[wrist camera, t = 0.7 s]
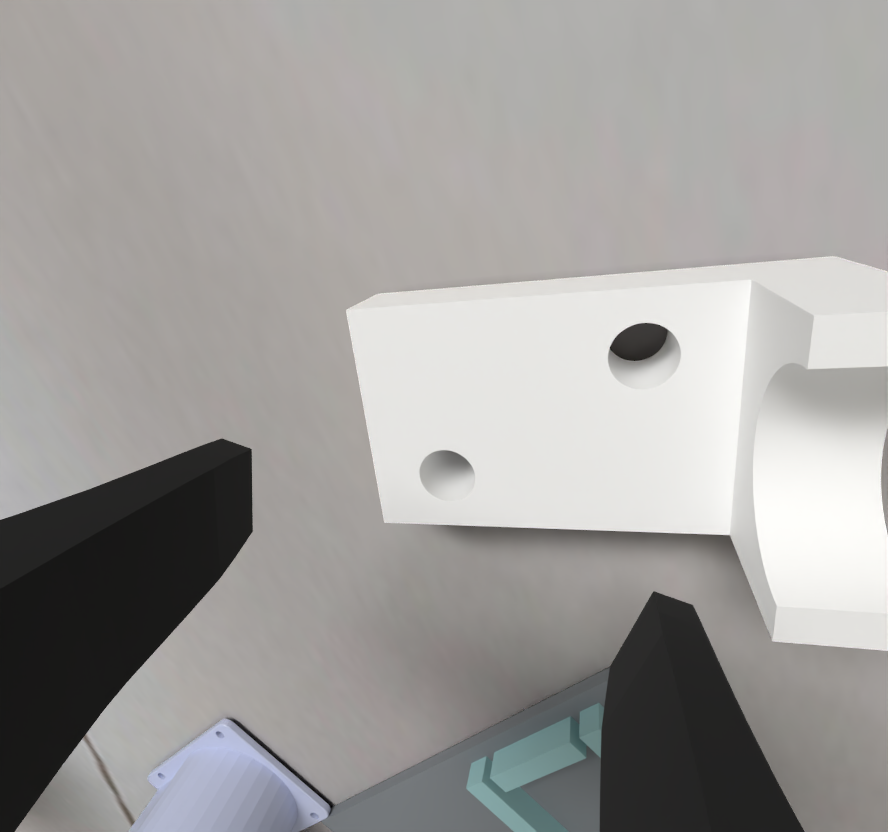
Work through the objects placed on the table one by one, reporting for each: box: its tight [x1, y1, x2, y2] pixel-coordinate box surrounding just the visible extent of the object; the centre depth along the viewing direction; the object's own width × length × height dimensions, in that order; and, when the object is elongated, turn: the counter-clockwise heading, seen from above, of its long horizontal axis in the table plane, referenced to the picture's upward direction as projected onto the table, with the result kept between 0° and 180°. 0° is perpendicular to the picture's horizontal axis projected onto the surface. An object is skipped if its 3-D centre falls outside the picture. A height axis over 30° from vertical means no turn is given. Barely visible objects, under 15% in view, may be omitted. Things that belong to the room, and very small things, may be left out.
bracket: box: [346, 256, 888, 651], centre depth 15 cm, size 13×7×8 cm, turn 97°
